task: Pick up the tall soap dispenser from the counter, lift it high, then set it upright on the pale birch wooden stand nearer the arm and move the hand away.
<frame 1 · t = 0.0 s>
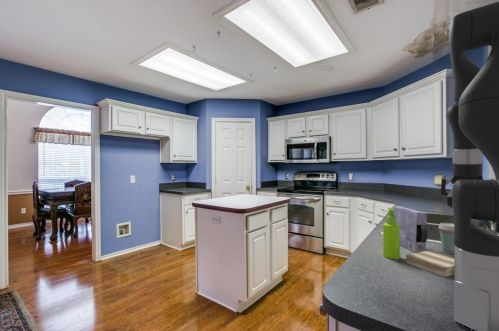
hand: (467, 208, 83), 22 cm above the table, tool pointing down, fingers open, 8 cm apart
soap dispenser: (391, 257, 98), on the table
birch stand: (435, 266, 88), on the table
cake pan box: (408, 247, 110), on the table
coffee cup: (451, 253, 103), on the table
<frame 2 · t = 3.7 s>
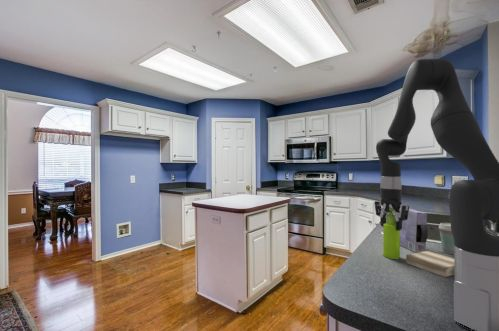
hand: (390, 228, 98), 12 cm above the table, tool pointing down, fingers closed on soap dispenser, 6 cm apart
soap dispenser: (391, 257, 98), on the table, touching gripper
everything else where it was.
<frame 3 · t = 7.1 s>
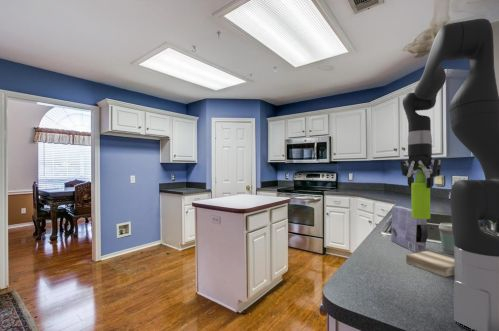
hand: (420, 187, 91), 29 cm above the table, tool pointing down, fingers closed on soap dispenser, 6 cm apart
soap dispenser: (421, 218, 91), point 17 cm above the table, touching gripper
everything else where it was.
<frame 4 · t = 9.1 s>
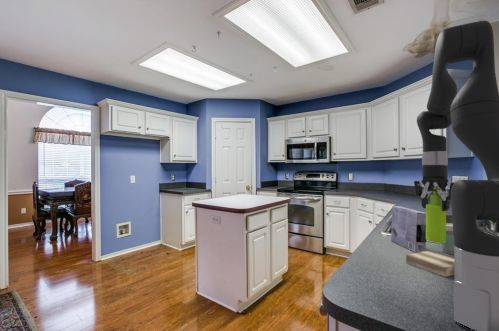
hand: (435, 209, 88), 21 cm above the table, tool pointing down, fingers closed on soap dispenser, 6 cm apart
soap dispenser: (435, 241, 88), point 9 cm above the table, touching gripper
everything else where it was.
when the fingers open (16 cm above the table, at t = 10.6 s): soap dispenser drops 1 cm, resting on birch stand.
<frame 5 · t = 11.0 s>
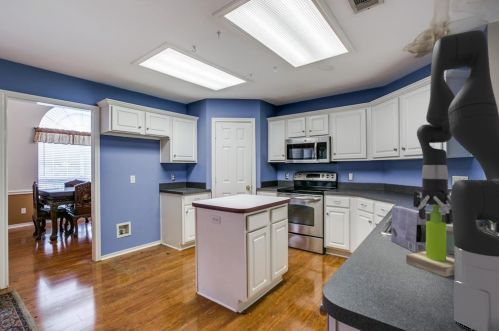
hand: (435, 221, 88), 17 cm above the table, tool pointing down, fingers open, 8 cm apart
soap dispenser: (436, 259, 88), point 3 cm above the table, touching birch stand
everything else where it was.
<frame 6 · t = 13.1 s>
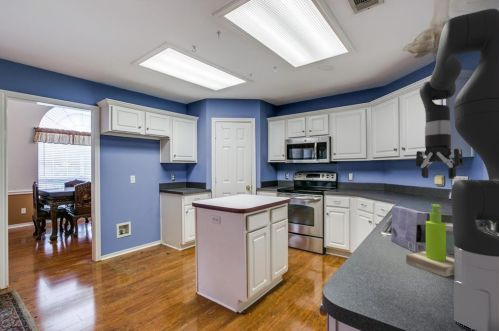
hand: (438, 178, 88), 33 cm above the table, tool pointing down, fingers open, 8 cm apart
nothing on the table moved.
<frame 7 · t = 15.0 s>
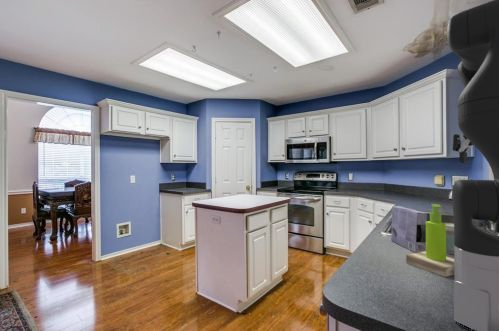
hand: (479, 162, 80), 38 cm above the table, tool pointing down, fingers open, 8 cm apart
nothing on the table moved.
at the end: soap dispenser 0.3 cm off-centre on the birch stand, point 2.8 cm above the birch stand's base; soap dispenser tilted 0°; the gripper is holding nothing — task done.
